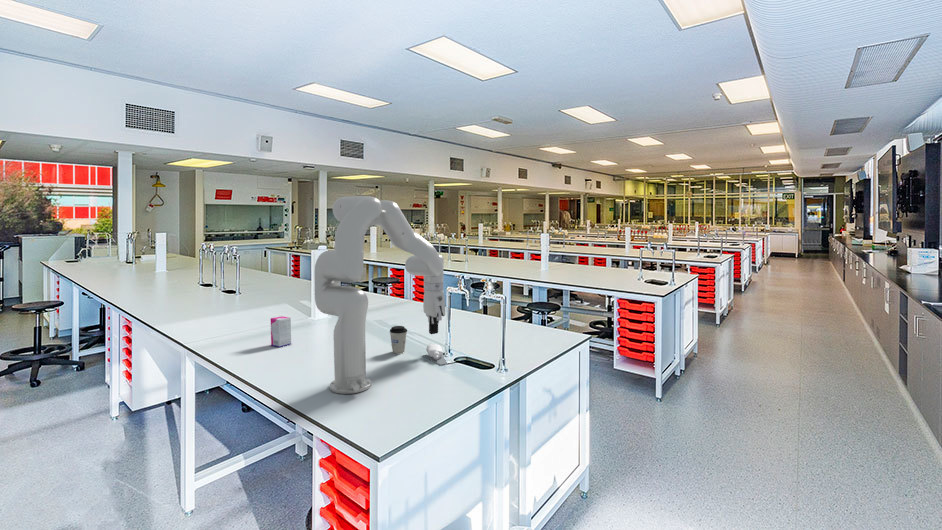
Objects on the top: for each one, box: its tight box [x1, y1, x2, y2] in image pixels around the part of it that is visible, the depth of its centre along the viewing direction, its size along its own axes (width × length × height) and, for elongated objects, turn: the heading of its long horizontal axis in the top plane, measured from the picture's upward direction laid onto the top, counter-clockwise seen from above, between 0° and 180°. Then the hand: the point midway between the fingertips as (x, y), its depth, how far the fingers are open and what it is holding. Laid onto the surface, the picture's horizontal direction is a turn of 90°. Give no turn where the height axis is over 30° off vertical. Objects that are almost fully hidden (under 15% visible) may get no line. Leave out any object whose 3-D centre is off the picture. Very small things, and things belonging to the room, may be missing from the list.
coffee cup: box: [389, 325, 408, 355], centre depth 180 cm, size 7×7×10 cm
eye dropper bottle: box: [426, 343, 444, 359], centre depth 173 cm, size 4×6×12 cm
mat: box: [424, 354, 448, 366], centre depth 172 cm, size 12×10×1 cm
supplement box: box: [270, 315, 292, 349], centre depth 188 cm, size 6×6×12 cm
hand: (433, 333), depth 178 cm, fingers closed
